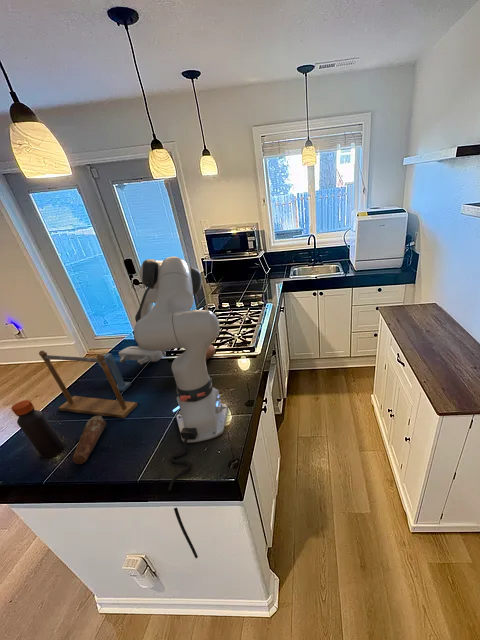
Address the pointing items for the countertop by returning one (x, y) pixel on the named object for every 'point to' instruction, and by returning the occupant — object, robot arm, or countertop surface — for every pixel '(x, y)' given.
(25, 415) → the bottle
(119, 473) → the countertop surface
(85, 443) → the bread
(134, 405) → the rail stand
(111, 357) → the hanger
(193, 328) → the robot arm
